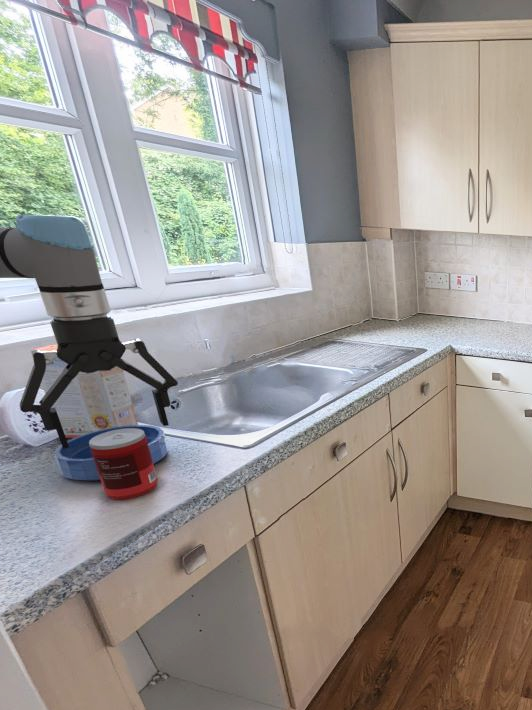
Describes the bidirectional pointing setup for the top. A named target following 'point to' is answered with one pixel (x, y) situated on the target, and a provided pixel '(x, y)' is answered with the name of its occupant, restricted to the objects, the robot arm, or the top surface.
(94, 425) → the cracker box
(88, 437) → the bowl
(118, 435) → the canned food
